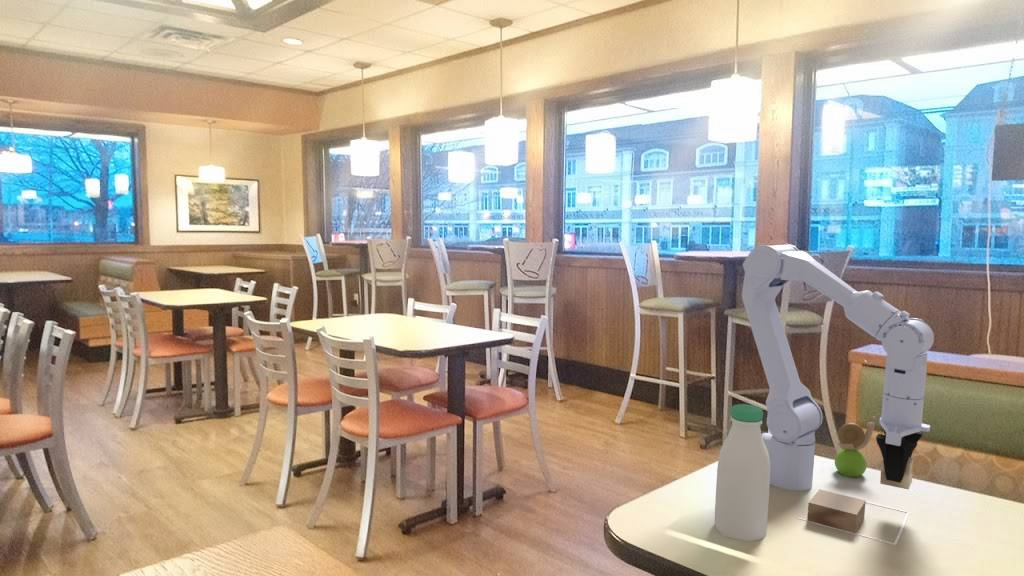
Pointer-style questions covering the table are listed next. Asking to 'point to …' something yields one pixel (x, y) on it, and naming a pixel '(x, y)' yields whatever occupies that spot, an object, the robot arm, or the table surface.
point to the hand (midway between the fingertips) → (896, 476)
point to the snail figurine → (853, 448)
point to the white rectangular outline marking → (875, 538)
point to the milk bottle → (743, 478)
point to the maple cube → (906, 478)
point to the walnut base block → (836, 510)
